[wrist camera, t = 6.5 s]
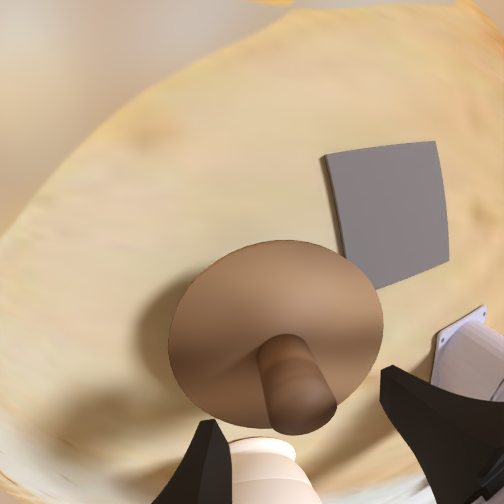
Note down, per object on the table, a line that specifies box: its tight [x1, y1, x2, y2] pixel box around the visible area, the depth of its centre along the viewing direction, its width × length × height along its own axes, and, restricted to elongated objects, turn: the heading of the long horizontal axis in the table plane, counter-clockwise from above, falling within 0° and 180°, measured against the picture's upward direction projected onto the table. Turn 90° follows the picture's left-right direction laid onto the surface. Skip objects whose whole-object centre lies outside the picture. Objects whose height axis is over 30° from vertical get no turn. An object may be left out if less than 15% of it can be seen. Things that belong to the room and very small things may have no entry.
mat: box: [324, 141, 449, 290], centre depth 18 cm, size 10×10×1 cm
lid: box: [168, 240, 383, 436], centre depth 12 cm, size 12×12×6 cm
